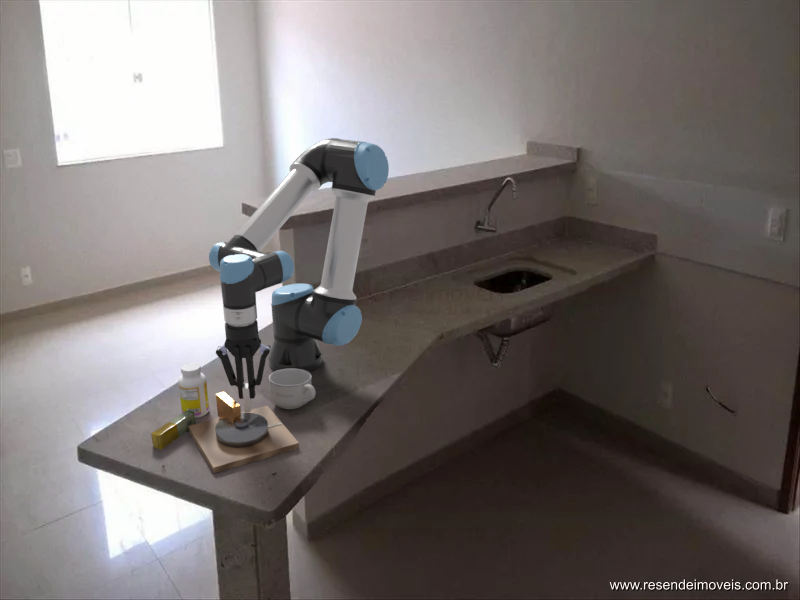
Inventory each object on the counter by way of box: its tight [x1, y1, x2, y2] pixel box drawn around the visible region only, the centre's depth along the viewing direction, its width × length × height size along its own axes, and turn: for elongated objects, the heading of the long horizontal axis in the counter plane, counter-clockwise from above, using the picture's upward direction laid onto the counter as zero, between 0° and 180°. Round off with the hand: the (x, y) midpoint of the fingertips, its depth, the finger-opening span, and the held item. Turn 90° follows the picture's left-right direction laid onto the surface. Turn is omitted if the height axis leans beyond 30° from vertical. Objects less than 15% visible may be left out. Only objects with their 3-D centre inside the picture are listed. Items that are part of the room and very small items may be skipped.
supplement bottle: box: [177, 362, 210, 419], centre depth 182 cm, size 7×7×13 cm
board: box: [188, 405, 300, 474], centre depth 172 cm, size 20×20×2 cm
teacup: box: [268, 368, 317, 410], centre depth 186 cm, size 14×11×8 cm
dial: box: [215, 391, 268, 447], centre depth 172 cm, size 16×12×6 cm
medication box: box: [150, 411, 197, 450], centre depth 173 cm, size 12×3×4 cm, turn 153°
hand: (248, 409), depth 179 cm, fingers closed
